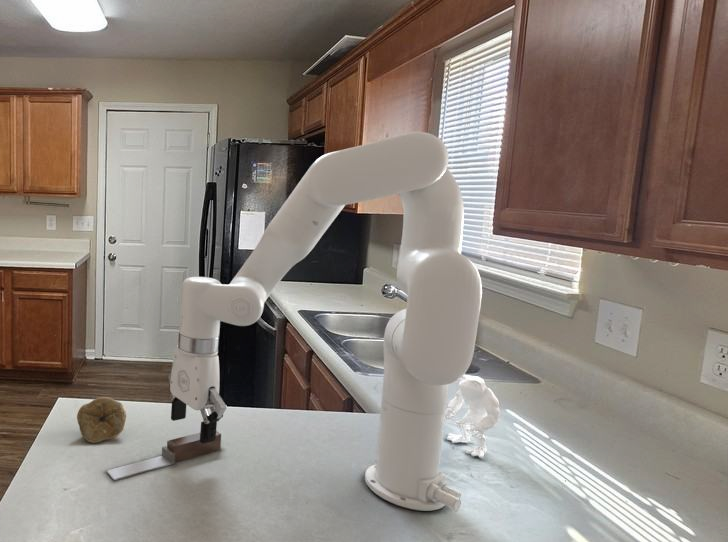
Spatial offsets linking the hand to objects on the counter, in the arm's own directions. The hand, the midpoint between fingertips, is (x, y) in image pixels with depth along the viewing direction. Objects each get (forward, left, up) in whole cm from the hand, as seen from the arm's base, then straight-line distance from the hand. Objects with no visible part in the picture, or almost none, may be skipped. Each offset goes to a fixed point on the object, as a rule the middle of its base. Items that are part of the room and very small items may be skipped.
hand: (192, 429), depth 95 cm
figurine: (-23, -52, -5) cm, 58 cm away
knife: (0, +6, -5) cm, 7 cm away
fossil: (+14, +12, -5) cm, 19 cm away
